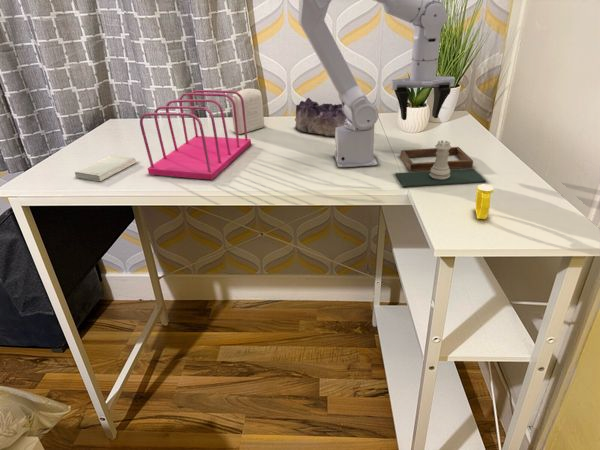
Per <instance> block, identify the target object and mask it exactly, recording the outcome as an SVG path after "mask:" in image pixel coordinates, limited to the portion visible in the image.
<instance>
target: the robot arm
mask: <svg viewBox="0 0 600 450" xmlns="http://www.w3.org/2000/svg"><path fill="white" fill-rule="evenodd" d="M332 1H333V0H298V23H299V26H300V27H301V29H302V31H303V33H304V34H305V36H306V39H307V40H308V43H309V44H310V46H311V47H312V49H313V51H314V53H315V54H316V56H317V58H318V60H319V61H320V63H321V65H322V67H323V69H324V70H325V73H326V75H327V76H328V78H329V79H330V81H331V83H332V85H333V87H334V88H335V90H336V92H337V94H338V98H339V100H340V102H341V104H342V111H343V114H344V115H345V116H346V120H345V123H344V126H342V127H337V128H336V129H335V136H334V143H335V144H334V158H335V161H336V164H337V167H338V168H352V167H355V168H356V167H369V166H372V167H373V166H378V161H377V160H376V157H375V156H374V149H375V125H376V123H377V121H378V120H379V109H378V107H377V106H376V105H375V104H374V103H372V102H371V101H370V100H369V99H368V97H367V95H366V94H365V92H364V91H363V89H362V88H361V87H360V86H359V84H358V83H357V80H356V78H355V76H354V74H353V72H352V71H351V69H350V67H349V65H348V63H347V60H346V59H345V57H344V55H343V53H342V51H341V49H340V48H339V45H338V44H337V42H336V40H335V38H334V36H333V34H332V33H331V31H330V29H329V27H328V25H327V23H326V20H325V19H326V16H327V13H328V9H329V6H330V4H331V2H332ZM373 1H374V2H375V3H379V4H381V5H382V7H383V10H384V12H385V13H386V14H388V15H390V16H393V17H395V18H397V19H399V20H402V21H405V22H407V23H409V24H412V26H414V28H413V39H412V41H413V42H412V53H411V63H410V64H411V65H410V77H404V78H397V79H396V78H395V79H390V89H391V90H392V91H394V93H395V96H396V99H397V101H398V102H397V103H398V106H399V110H400V118H401V119H402V120H403V121H406V120H407V115H408V102H409V98H410V97H409V96H410V93H409V92H408V89H421V88H422V89H423V88H433V102H432V112H431V114H432V115H431V116H432V117H433V118H434V119H438V117H439V114H440V112H441V109H442V107H443V104H444V103H445V101H446V100H447V98H448V96H449V95H450V94H451V90H452V88H451V87H455V82H456V77H454V76H449V75H448V76H437V69H438V61H439V53H440V52H439V51H440V41H441V32H442V29H443V27H444V25H445V24H446V23H447V20H448V17H449V14H448V13H447V8H446V6H445V4H444V3H443V2H442V1H440V0H373Z"/></svg>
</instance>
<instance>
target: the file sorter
mask: <svg viewBox="0 0 600 450" xmlns="http://www.w3.org/2000/svg"><path fill="white" fill-rule="evenodd" d="M229 94H237V95H238V96H239V97H240V99H241V103H242V112H243V121H244V131H245V133H244V138H241V137H239V134H238V127H237V117H236V107H235V102H234V100H233V99H232V98H231V95H229ZM185 96H189V99H183V98H184V97H185ZM193 96H194V97H195V96H199V97H223V98H224V97H225V98H226V99H229V101H230V103H231V102H232V104H233V111H234V120H235V130H236V133H235V137H229V135H228V130H227V125H226V120H225V114H224V109H223V107H222V105H221V103H219V102H218V101H217V100H214V99H193ZM173 103H174V104H175V103H179V106H178V105H173V106H172V105H171V104H173ZM183 103H189V105H190V106H186V105H183ZM194 103H214V104H215V105H216V106H217V107H218V108H219V110H220V117H221V120H222V126H223V127H222V128H223V133H224V137H223V136H218V134H217V127H216V122H215V118H214V117H215V116H214V115H213V112H212V111H211V110H210V109H208V108H207V107H205V106H194ZM160 110H165V112H159V111H160ZM169 110H180V112H169ZM184 110H190V111H191V113H189V112H184ZM195 110H204V111H205V112H206V113H208V114H209V116H210V119H211V125H212V130H213V131H212V132H213V136H206V135H205V132H204V127H203V124H202V123H203V122H202V121H201V120H200V118H199V117H198V116H197V115H195ZM158 116H159V117H161V116H163V117H164V116H165V117H166V118H167V123H168V126H169V131H170V134H171V140H172V143H173V147H174V150H172V151H170V152H169V153H168V154H166V150H165V146H164V141H163V137H162V133H161V129H160V124H159V120H158ZM145 117H153V119H154V123H155V128H156V131H157V137H158V140H159V145H160V148H161V152H162V158H160V159H159V160H158V161H156V162H155V163H154V162H153V158H152V154H151V150H150V147H149V143H148V138H147V134H146V131H145V127H144V118H145ZM171 117H181V122H182V127H183V134H184V139H185V142H184V143H183V144H182V145H180V146H178V145H177V142H176V137H175V133H174V129H173V124H172V121H171ZM185 117H191V118H192V123H193V128H194V134H195V136H194V137H192V138H191V139H189V138H188V133H187V132H188V131H187V126H186V120H185ZM196 121H197V122H196ZM197 124H198V127H199V132H200V135H199V134H198V129H197ZM139 126H140V131H141V134H142V138H143V143H144V147H145V149H146V152H147V157H148V161H149V165H150V166H149V167H147V172H148V175H151V176H152V175H153V176H165V177H176V178H189V179H201V180H210V181H212V180H214V179H215V178H216V177H217V176H218V175H219V174H221V173H222V172H223V171H224V170H225V169H226V168H227V167H228V166H230V164H232V163H233V162H234V161H235V160H236V159H237V158H238V157H239V156H240V155H241V154H243V153H244V152H245V151H246V150H247V149H248V148H249V147H250V146H252V139H251V138H248V132H247V129H246V119H245V109H244V101H243V98H242V96H241V95H240V94H239V93H238V91H235V90H219V89H217V90H215V89H195V90H193V91H192V92H185V93H183V94H182V95H180V97H179V99H172V100H170V101H168V102H167V103H166V105H164V106H162V105H161V106H158V107H157V108H155V110H154V112H147V113H146V112H145V113H144V114H141V116H140V117H139Z"/></svg>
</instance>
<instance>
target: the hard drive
mask: <svg viewBox="0 0 600 450" xmlns="http://www.w3.org/2000/svg"><path fill="white" fill-rule="evenodd" d="M136 163H137V160H136V158H135V157H131V156H123V155H115V154H112V155H109V156H107V157H105V158H103V159H101V160H99V161H96V162H94V163H91V164H90V165H88V166H86V167H83V168H81V169H79V170H77V171H75V172H74V175H75V178H77V179H83V180H88V181H95V182H102V181H103V180H105V179H107V178H109V177H111V176H113V175H115V174H117V173H119V172H120V171H123V170H126V168H129V167H131V166H132V165H134V164H136Z"/></svg>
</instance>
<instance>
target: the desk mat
mask: <svg viewBox="0 0 600 450" xmlns="http://www.w3.org/2000/svg"><path fill="white" fill-rule="evenodd" d="M430 173H431V171H430V170H428V171H411V172H410V171H409V172H395V176H396V178H397V179H398V181H399V183H400V185H401V186H402V188H415V187H416V188H417V187H432V186H433V187H434V186H446V185H447V186H450V185H464V184H480V183H481V184H484V183H486V182H487V181H486V179H485V178H484V177H483V176H481V174H479V172H477V171H476V170H475V168H460V169H450V173H449V174H450V177H449V178H448V179H446V180H435V179H433V178H431V176H430V175H429V174H430Z"/></svg>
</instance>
